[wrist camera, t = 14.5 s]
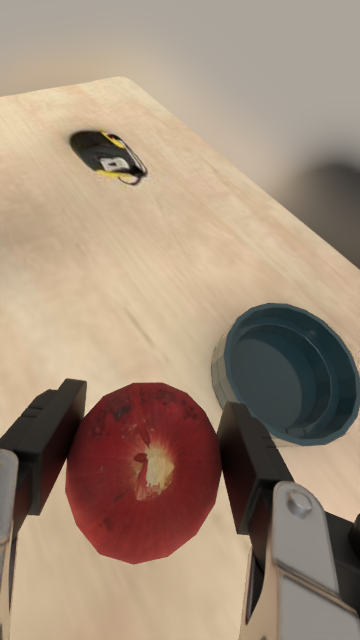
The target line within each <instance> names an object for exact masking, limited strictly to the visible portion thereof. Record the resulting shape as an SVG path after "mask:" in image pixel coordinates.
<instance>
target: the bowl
mask: <svg viewBox="0 0 360 640" xmlns="http://www.w3.org/2000/svg"><path fill="white" fill-rule="evenodd" d="M211 372H212V381H213V387H214V391H215V393H216V396H217V398H218V400H219V403H220V405H221V407H222V409H224V406H225V403H226V402H227V401H230V402H237V403H244V404H246V406H247V408H248V410H249V412H250V414H251V416H252V417H255V418H258V419H259V420H260V422H261V423H262V424H263V425H264V426H265V427H266V428H267V430H268V432H269V433H270V435H271V437H272V440H273V441H274V443H275V445H276V446H315V445H326V444H328V443H330V442H332V441H334V440H336V439H338V438H339V437H341V436H343V435H344V434H345V433H346V432H347V431H348V429H349V428H350V427H351V425H352V424H353V423H354V421H355V420H356V418H357V415H358V411H359V407H360V375H359V373H358V370H357V367H356V365H355V362H354V359H353V357H352V354H351V353H350V351H349V350H348V348H347V347H346V345H345V344H344V342H343V341H342V339H341V338H340V336H339V335H338V334H337V333H336V332H335V331H334V330H332V329H331V328H330V327H329V326H328V325H327V324H326V323H325V322H324V321H323V320H321V319H320V318H318V317H316V316H315V315H313V314H311V313H310V312H308V311H307V310H304V309H301V308H298V307H295V306H292V305H289V304H278V303H267V304H263V305H260V306H256V307H252V308H250V309H249V310H248V311H246V312H245V313H244V314H242V315H241V316H239V317H238V318H237V319H236V320H235V322H234V323H233V324H232V325H231V327H230V328H229V329H228V330H227V332H226V333H225V334H224V335H223V337H222V338H221V340H220V342H219V343H218V345H217V346H216V348H215V351H214V355H213V360H212V365H211Z"/></svg>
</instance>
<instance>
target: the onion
mask: <svg viewBox="0 0 360 640" xmlns="http://www.w3.org/2000/svg"><path fill="white" fill-rule="evenodd" d="M221 473H222V463H221V455H220V448H219V441H218V436H217V434H216V433H215V431H214V429H213V427H212V425H211V423H210V421H209V419H208V417H207V415H206V413H205V411H204V410H203V409H202V408H201V407H200V406H199V405H198V404H197V403H196V402H195V401H194V400H193V399H192V398H191V397H190V396H189V395H188V394H187V393H186V392H183V391H181V390H179V389H176V388H174V387H172V386H169V385H167V384H164V383H132V384H130V385H127V386H125V387H123V388H121V389H118V390H116V391H114V392H112V393H109V394H107V395H105V396H103V397H102V398H101V399H100V401H99V402H98V403H97V404H96V405H95V406H94V407H93V408H92V409H91V410H90V412H89V413H88V414H87V415H86V416H85V417H84V418H83V419H82V420H81V421H80V423H79V426H78V429H77V431H76V434H75V437H74V439H73V442H72V445H71V448H70V451H69V453H68V456H67V467H66V485H65V492H66V495H67V498H68V501H69V504H70V507H71V510H72V513H73V516H74V519H75V522H76V525H77V526H78V528H79V529H80V530H81V531H82V533H83V534H84V535H85V537H86V538H87V539H88V540H89V542H90V543H91V544H92V545H93V547H94V548H95V549H96V550H97V552H98V553H99V554H101V555H104V556H107V557H111V558H114V559H117V560H121V561H124V562H127V563H131V564H138V563H142V562H146V561H151V560H155V559H160V558H164V557H168V556H169V555H171V554H172V553H173V552H174V551H176V550H177V549H178V548H179V547H181V546H182V545H183V544H185V543H186V542H187V541H188V540H190V539H191V538H192V537H194V536H195V535H196V534H197V532H198V531H199V529H200V527H201V526H202V524H203V522H204V521H205V519H206V518H207V516H208V514H209V513H210V511H211V509H212V508H213V506H214V505H215V502H216V497H217V492H218V487H219V482H220V477H221Z"/></svg>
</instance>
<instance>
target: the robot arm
mask: <svg viewBox="0 0 360 640" xmlns="http://www.w3.org/2000/svg"><path fill="white" fill-rule="evenodd" d="M86 390H87V382H86V381H83V380H76V379H68V378H67V379H65V381H64V382H63V383H62V385H61V386H60V387H59V389H58V390H51V389H49V390H47V391H45V392H44V393H42V394H40V395H38V396H37V397H36V398H35V399H34V400H33V401H32V403H31V404H30V405H29V406H28V408H26V410H25V411H24V412H23V413H22V414H21V417H19V418H18V419H17V420H16V421H15V422H14V424H13V425H12V426H11V427H10V428H9V429H8V431H7V432H6V433H5V434H4V435H3V436H2V438H1V439H0V640H10V623H11V611H12V600H13V589H14V578H15V567H16V556H17V545H18V532H19V530H20V528H21V526H22V524H23V522H24V520H25V518H26V516H27V515H38V516H39V515H40V513H41V511H42V509H43V507H44V505H45V502H46V500H47V498H48V496H49V494H50V492H51V490H52V488H53V486H54V484H55V481H56V479H57V477H58V475H59V473H60V471H61V469H62V467H63V465H64V462H65V460H66V458H67V456H68V453H69V451H70V448H71V445H72V442H73V439H74V437H75V434H76V431H77V429H78V426H79V423H80V421H81V420H82V419H83V418H84V411H85V401H86ZM217 436H218V441H219V448H220V455H221V463H222V471H223V475H224V480H225V484H226V488H227V493H228V497H229V501H230V506H231V510H232V514H233V519H234V523H235V527H236V532H237V534H242V535H249V536H250V540H251V543H252V546H251V548H250V551H249V555H248V564H247V573H246V582H245V591H244V600H243V609H242V618H241V627H240V634H239V639H238V640H360V514H359V515H358V516H357V518H356V520H355V522H354V523H352V522H350V521H348V520H345V519H343V518H340V517H338V516H335V515H333V514H331V513H328V512H326V511H324V509H323V507H322V505H321V504H320V502H319V501H318V500H317V498H316V497H315V496H314V495H313V494H312V493H311V492H310V491H308V490H307V489H306V488H304V487H303V486H301V485H299V484H297V483H295V481H294V479H293V477H292V476H291V474H290V472H289V470H288V468H287V466H286V464H285V462H284V460H283V458H282V456H281V454H280V453H279V451H278V449H276V445H275V443H274V441H273V440H272V437H271V435H270V433H269V432H268V430H267V428H266V427H265V426H264V425H263V424H262V423H261V422H260V420H259V419H258V418H255V417H252V416H251V414H250V412H249V410H248V408H247V406H246V404H244V403H237V402H230V401H227V402H226V403H225V406H224V409H223V413H222V417H221V420H220V424H219V427H218V431H217Z"/></svg>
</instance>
